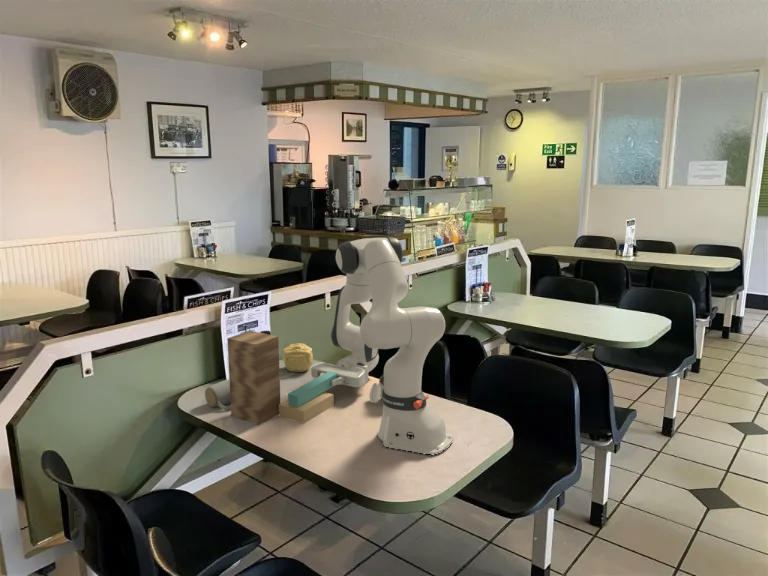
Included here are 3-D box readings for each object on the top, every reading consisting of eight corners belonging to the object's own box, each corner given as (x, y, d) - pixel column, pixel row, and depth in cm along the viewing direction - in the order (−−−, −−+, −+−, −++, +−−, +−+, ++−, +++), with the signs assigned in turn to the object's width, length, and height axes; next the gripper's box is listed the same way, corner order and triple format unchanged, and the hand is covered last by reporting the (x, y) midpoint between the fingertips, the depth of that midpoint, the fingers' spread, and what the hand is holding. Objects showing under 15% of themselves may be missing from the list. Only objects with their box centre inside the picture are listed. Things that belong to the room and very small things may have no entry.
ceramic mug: (203, 404, 196) (202, 383, 194) (224, 397, 202) (224, 376, 200) (222, 414, 189) (221, 392, 187) (243, 406, 195) (242, 384, 193)
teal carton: (338, 383, 202) (338, 373, 202) (297, 407, 184) (297, 396, 183) (329, 381, 204) (329, 371, 204) (288, 404, 186) (288, 393, 185)
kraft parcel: (333, 405, 196) (333, 394, 195) (303, 423, 182) (303, 411, 181) (309, 399, 201) (309, 388, 200) (279, 416, 187) (278, 404, 186)
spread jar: (412, 403, 198) (412, 370, 196) (387, 412, 191) (387, 378, 188) (388, 392, 207) (388, 361, 204) (363, 401, 200) (363, 369, 197)
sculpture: (282, 375, 223) (281, 348, 221) (285, 364, 235) (284, 338, 233) (312, 374, 224) (311, 347, 222) (313, 364, 236) (313, 338, 233)
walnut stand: (280, 413, 190) (278, 336, 184) (259, 424, 181) (256, 344, 176) (253, 405, 196) (250, 330, 190) (231, 416, 187) (227, 338, 182)
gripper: (324, 356, 215) (300, 367, 203) (371, 366, 205) (349, 378, 193) (324, 372, 216) (301, 384, 205) (371, 383, 206) (349, 396, 194)
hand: (325, 381), depth 199 cm, fingers closed on teal carton, 4 cm apart
